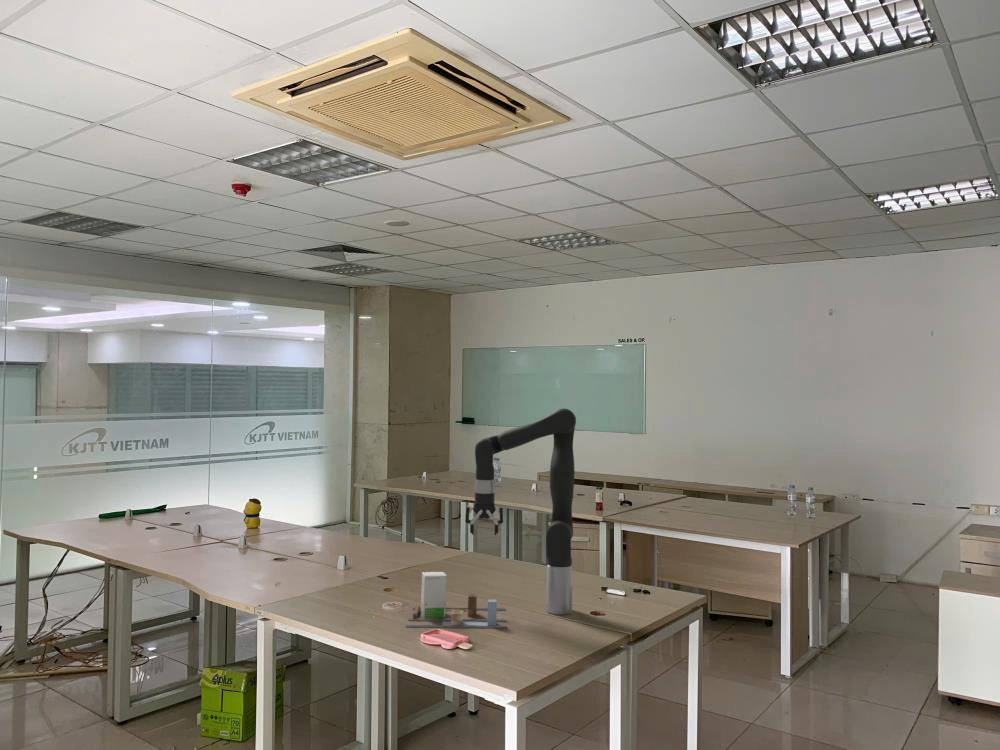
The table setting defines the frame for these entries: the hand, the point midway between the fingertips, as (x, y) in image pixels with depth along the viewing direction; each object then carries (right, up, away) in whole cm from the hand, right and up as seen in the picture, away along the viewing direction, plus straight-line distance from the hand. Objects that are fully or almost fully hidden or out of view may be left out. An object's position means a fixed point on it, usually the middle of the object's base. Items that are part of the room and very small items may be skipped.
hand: (484, 534), depth 264 cm
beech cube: (-9, -25, -25) cm, 36 cm away
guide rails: (-9, -26, -18) cm, 33 cm away
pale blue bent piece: (-5, -26, -24) cm, 36 cm away
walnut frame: (-13, -26, -14) cm, 33 cm away
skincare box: (-18, -27, -14) cm, 35 cm away
